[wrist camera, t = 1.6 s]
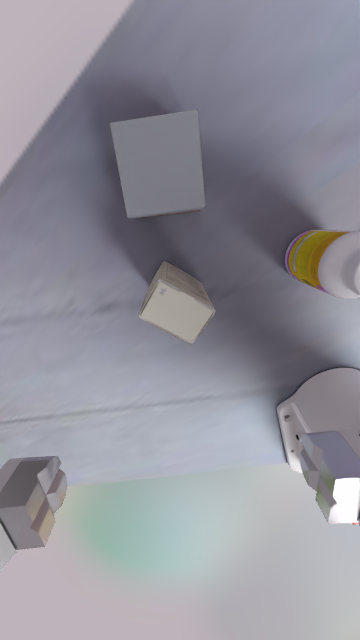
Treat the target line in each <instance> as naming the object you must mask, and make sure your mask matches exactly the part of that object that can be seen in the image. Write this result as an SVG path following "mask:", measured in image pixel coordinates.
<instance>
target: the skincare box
mask: <svg viewBox="0 0 360 640" xmlns="http://www.w3.org/2000/svg"><path fill="white" fill-rule="evenodd" d="M214 313H215V309H214V307H213V305H212V303H211V301H210V299H209V297H208V295H207V293H206V291H205V289H204V287H203V285H202V283H201V282H200V281H199V280H197V279H196V278H194V277H193V276H191V275H189V274H188V273H186V272H184V271H182V270H181V269H179V268H177V267H175V266H173V265H172V264H170V263H168V262H166V261H163V262H162V264H161V265H160V267H159V269H158V271H157V272H156V274H155V276H154V278H153V280H152V282H151V284H150V286H149V288H148V291H147V294H146V297H145V299H144V302H143V305H142V308H141V311H140V314H139V317H140V318H141V319H143V320H144V321H146V322H148V323H150V324H152V325H153V326H155V327H157V328H159V329H161V330H163V331H165V332H167V333H169V334H171V335H173V336H175V337H177V338H179V339H181V340H183V341H186V342H188V343H190V344H193V343H194V342H195V340H196V339H197V338H198V336H199V335H200V333H201V332H202V331H203V329H204V328H205V327H206V325H207V324H208V322H209V321H210V319H211V318H212V316H213V315H214Z"/></svg>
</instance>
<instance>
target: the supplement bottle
mask: <svg viewBox="0 0 360 640" xmlns="http://www.w3.org/2000/svg"><path fill="white" fill-rule="evenodd" d="M285 265H286V268H287V270H288V272H289V274H290V275H291V276H292V277H294V278H295V279H297V280H299V281H301V282H303V283H306V284H308V285H310V286H313V287H315V288H317V289H319V290H322V291H324V292H326V293H329V294H331V295H333V296H335V297H338V298H343V299H352V298H358V297H360V231H337V230H310V231H306V232H304V233H302V234H300V235H299V236H297V237H296V238H295V239H294V240H293V241H292V242H291V244H290V245H289V247H288V249H287V251H286V255H285Z"/></svg>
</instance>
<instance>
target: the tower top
mask: <svg viewBox="0 0 360 640" xmlns="http://www.w3.org/2000/svg"><path fill="white" fill-rule="evenodd" d="M110 127H111V133H112V138H113V143H114V149H115V154H116V159H117V165H118V170H119V176H120V181H121V186H122V192H123V197H124V202H125V208H126V213H127V218H133V219H134V218H141V217H149V216H156V215H163V214H171V213H178V212H185V211H192V210H200V209H203V208H205V207H206V206H205V194H204V181H203V169H202V157H201V145H200V132H199V120H198V109H196V110H189V111H183V112H176V113H170V114H163V115H157V116H150V117H144V118H137V119H131V120H124V121H118V122H112V123H110Z"/></svg>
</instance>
